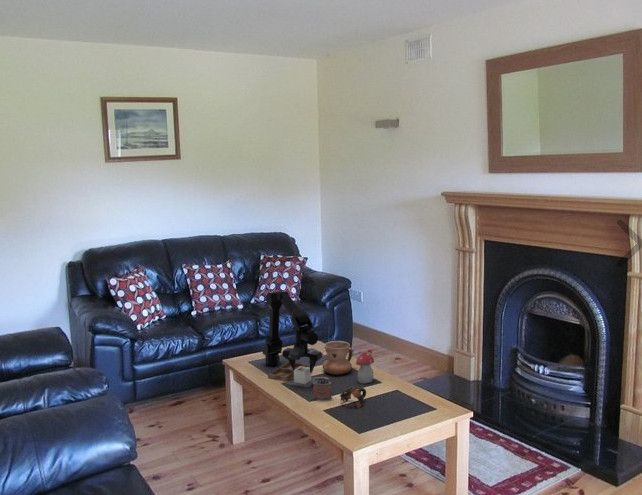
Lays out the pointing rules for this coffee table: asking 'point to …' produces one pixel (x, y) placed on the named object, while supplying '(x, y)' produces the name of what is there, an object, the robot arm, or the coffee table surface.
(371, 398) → the coffee table surface
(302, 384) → the pad
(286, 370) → the tray
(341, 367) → the ceramic jug
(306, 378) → the letter cube
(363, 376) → the decorative ornament
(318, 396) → the lighter
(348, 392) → the brown irregular piece
